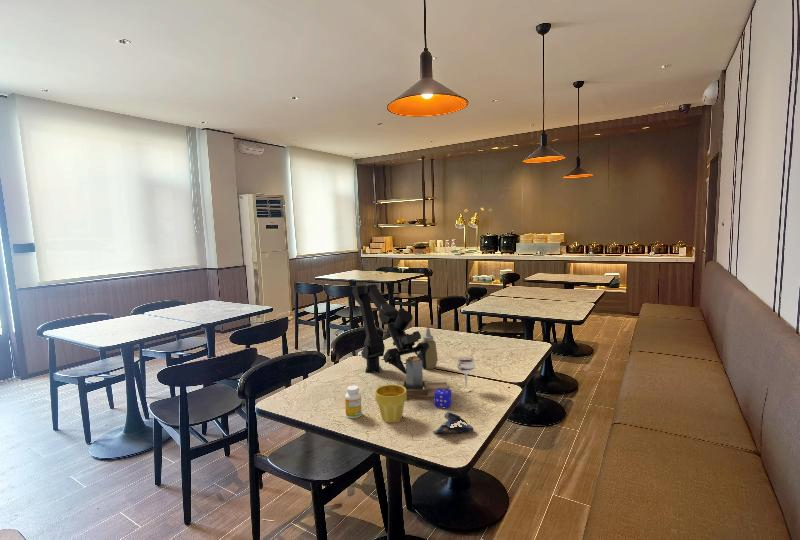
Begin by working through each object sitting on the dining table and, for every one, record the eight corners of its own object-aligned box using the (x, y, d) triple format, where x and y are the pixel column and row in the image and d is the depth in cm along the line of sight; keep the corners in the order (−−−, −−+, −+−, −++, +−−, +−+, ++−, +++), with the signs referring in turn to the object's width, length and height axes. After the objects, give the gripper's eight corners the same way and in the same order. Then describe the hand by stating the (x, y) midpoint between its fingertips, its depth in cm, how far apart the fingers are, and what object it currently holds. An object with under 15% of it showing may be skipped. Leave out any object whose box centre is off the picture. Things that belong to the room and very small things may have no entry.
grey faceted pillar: (406, 389, 161) (405, 357, 159) (416, 387, 163) (415, 355, 162) (413, 393, 157) (412, 360, 156) (422, 390, 159) (422, 358, 158)
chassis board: (396, 385, 168) (396, 378, 168) (446, 384, 168) (446, 377, 168) (395, 399, 154) (395, 392, 154) (450, 398, 154) (450, 390, 154)
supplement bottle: (347, 411, 146) (346, 384, 145) (362, 411, 145) (361, 384, 144) (344, 418, 140) (343, 390, 139) (360, 418, 140) (359, 390, 139)
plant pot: (382, 428, 133) (381, 398, 132) (371, 415, 142) (370, 387, 141) (412, 421, 137) (411, 392, 136) (399, 409, 146) (398, 382, 145)
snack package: (434, 421, 137) (431, 438, 126) (437, 403, 137) (434, 418, 125) (471, 429, 136) (471, 447, 124) (474, 410, 135) (474, 427, 123)
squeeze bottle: (441, 366, 190) (440, 327, 188) (432, 371, 183) (431, 331, 182) (425, 363, 195) (424, 325, 193) (416, 368, 188) (415, 329, 186)
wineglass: (478, 389, 162) (478, 359, 161) (468, 394, 157) (468, 363, 156) (463, 385, 167) (463, 356, 165) (453, 390, 162) (453, 360, 160)
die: (448, 408, 146) (448, 394, 145) (434, 407, 148) (434, 393, 147) (451, 403, 151) (451, 389, 150) (438, 401, 152) (437, 388, 152)
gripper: (386, 328, 156) (403, 365, 148) (426, 321, 166) (444, 355, 158) (376, 344, 163) (392, 380, 155) (415, 336, 173) (432, 370, 165)
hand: (416, 371), depth 158 cm, fingers open, 9 cm apart
